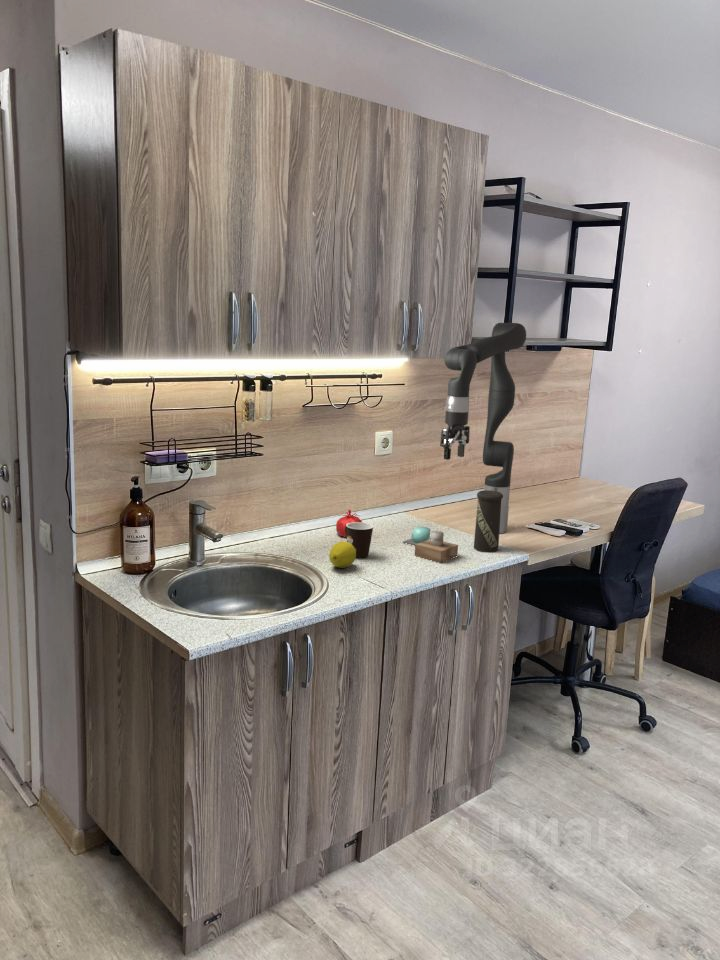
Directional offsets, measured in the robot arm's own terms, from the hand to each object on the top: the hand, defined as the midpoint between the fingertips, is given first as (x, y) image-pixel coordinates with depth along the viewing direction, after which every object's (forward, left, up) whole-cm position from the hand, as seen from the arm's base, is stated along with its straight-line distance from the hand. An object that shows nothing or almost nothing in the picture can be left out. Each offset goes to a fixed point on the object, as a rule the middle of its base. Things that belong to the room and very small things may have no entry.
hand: (453, 458), depth 264 cm
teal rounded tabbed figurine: (+6, -7, -30) cm, 31 cm away
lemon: (+46, -9, -30) cm, 56 cm away
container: (-5, +12, -30) cm, 33 cm away
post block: (+15, +5, -30) cm, 34 cm away
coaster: (+6, -7, -30) cm, 31 cm away
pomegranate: (+17, -30, -30) cm, 46 cm away
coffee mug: (+32, -14, -30) cm, 46 cm away
